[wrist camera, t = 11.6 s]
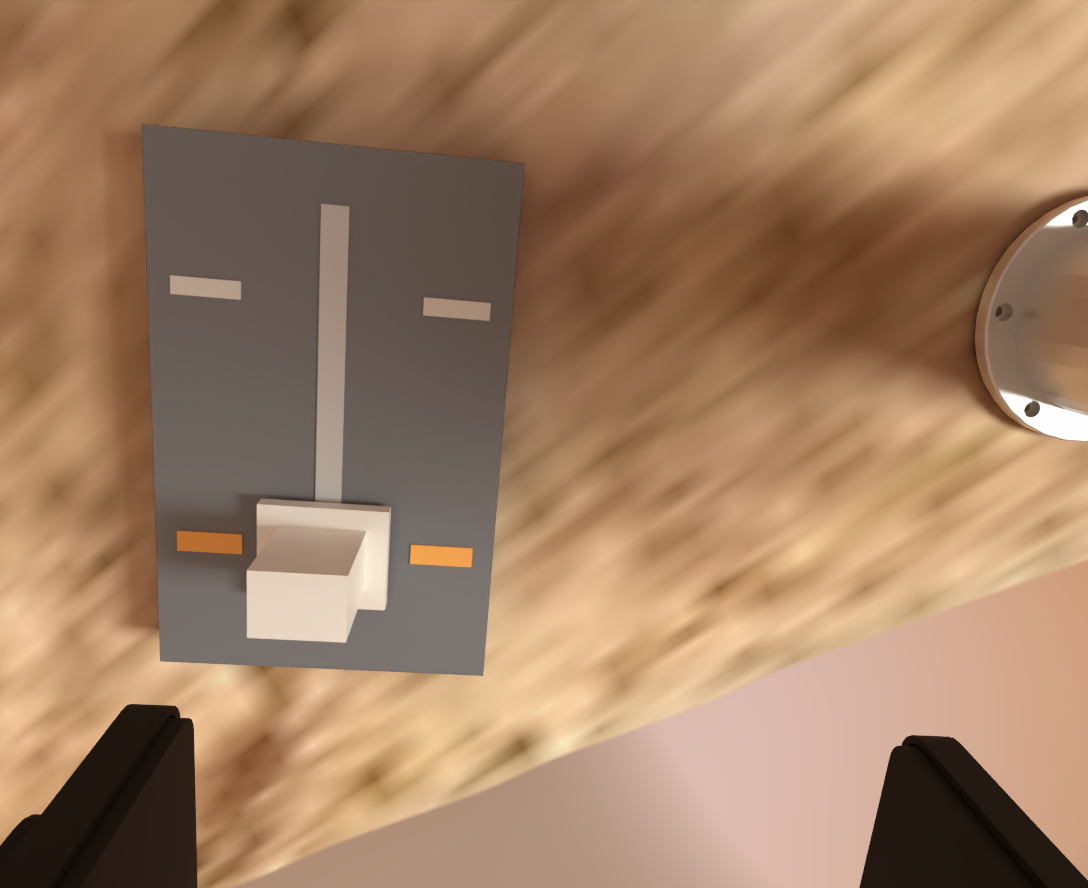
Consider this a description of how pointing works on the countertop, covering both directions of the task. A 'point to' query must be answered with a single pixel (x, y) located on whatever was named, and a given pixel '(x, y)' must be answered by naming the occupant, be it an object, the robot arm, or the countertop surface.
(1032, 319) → the robot arm
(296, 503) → the fader
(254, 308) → the console
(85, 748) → the countertop surface
